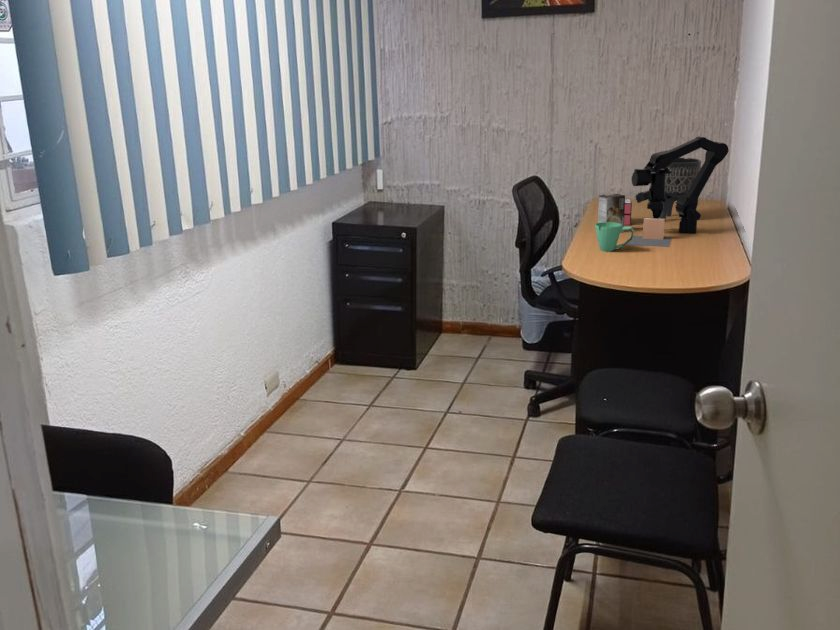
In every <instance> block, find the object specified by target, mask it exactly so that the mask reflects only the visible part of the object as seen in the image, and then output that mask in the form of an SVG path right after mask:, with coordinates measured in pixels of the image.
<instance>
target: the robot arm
mask: <svg viewBox="0 0 840 630" xmlns="http://www.w3.org/2000/svg"><path fill="white" fill-rule="evenodd" d="M699 149H702V150H704V151H705V156H704V162H703V163H702V164H701V169H700V171H699V173H698V175H697V176H696V178H695V180H694V182H693V184H692V185H691V187H690V189H689V191H688V192H687V193H686V194H685V195H680V196H679V199H678V201H675V211H676V213H678V216H679V218H681V219H680V220H679V224H678V226H679V227H678V232H679V234H687V235H689V234H690V235H697V232H698V231H697V228H698V221H700V219H701V217H702V214H700V213H699V212H698V210H697V208H698V205H699V198H700V197H699V196H700V195H701V193H702V192H703V190H704V188H705V186H706V184H707V183H708V180H709V179H710V178H711V175H712V173H713V172H714V170H715V168H716V166H718V165H719V163H721V162H722V161H724V159H725V158H726V157H727V155H728V154H729V152H730V151H729V146H728V145H727V144H726V143H724V142H719V141H713V140H711V139H708V138H707V137H705V136H704V137H703V136H696V137H695V138H693V139H691V140H688V141H687V142H684V143H682V144H680V145H678V146H675V147H674V148H673V147H672V149H668V150H662V151H658V152H654V153H652V154H651V156H650V158H649V161H648V162H647V163H646V165H645V166H644V167H643V168H641V169H640V168H634V171H633V173H632V175H631V184H632V186H633V187H646V186H649V185H650V187H649V189H648V190H645V191H643V192H642V191H641V192H638V193H636V194H635V196H634V197H635V200H636V203H637V204H639V203H642V202H644V201H647V200H648V202H647V205H646V208H647V210H650V211H651V212H652V218H655V219H660V215H661V213H662V211H663V208H664V206H665V205H664V203H665V202H666V197H665V196H664V195H665V179H666V174H670V173H671V171H669V170H668V168H666V167H667V166H669V165H670V164H672V162H673V161H674V160H676V159H677V158H683V157H684V156H686V155H688V154H690V153H693V152H694V151H695V152H696V151H697V150H699ZM663 202H664V203H663Z"/></svg>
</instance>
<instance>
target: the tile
mask: <svg viewBox="0 0 840 630" xmlns="http://www.w3.org/2000/svg"><path fill="white" fill-rule="evenodd" d="M665 222H666V221H665V219H660V218H659V219H655V218H653V217H652V218H650V217H649V218H648V217H644V218H643V224H642V226H643V229H642V236H643V239H662V240H663V239H664V237H665Z"/></svg>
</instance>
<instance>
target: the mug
mask: <svg viewBox="0 0 840 630" xmlns="http://www.w3.org/2000/svg"><path fill="white" fill-rule="evenodd" d="M594 226H595V231H596V238H597V242H598V246H599V249H600V251H602V252H605V251H606V252H608V253H610V252H614V250H617V249H620V248H623V247H625V246H627V244H628V243H629V242H630V241H631V240H632V239H633V236H635V235H634V234H635V230H634V228H633V227H632V226H624V227H622V225H621V224H619V223H614V222H601V223H598V222H597V223H595V225H594ZM621 227H622V228H621ZM621 231H624V232H625V231H630V236H629V237H628V239H627V240H626V241H624V243H621V244H619V245H617V244H618V241H619V239H620V234H621V233H622V232H621Z"/></svg>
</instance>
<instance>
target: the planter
mask: <svg viewBox="0 0 840 630" xmlns="http://www.w3.org/2000/svg"><path fill="white" fill-rule="evenodd" d="M701 167H702V159H698V158H692V157H680V158H677V159H676V160H674V161H673V162H672V164H670V165H669V166H667V167H666V168H668V170H669V171H671V173H670V174H666V179H665V195H664V196H665V197H666V202H665V203H664V202H663V203H664V205H665V206H664V208H663V211H662V213H661V215H660V217H659V219H665V222H666V220H667V217H672V213H673V207H674V204H675V203H676V202H677V201H678V199H679V196H680V195H685V194H686V193H687V192H688V191H689V189H690V187H691V185H692V184H693V182H694V180H695V178H696V176H697V175H698V173H699V171H700V169H701Z"/></svg>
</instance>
